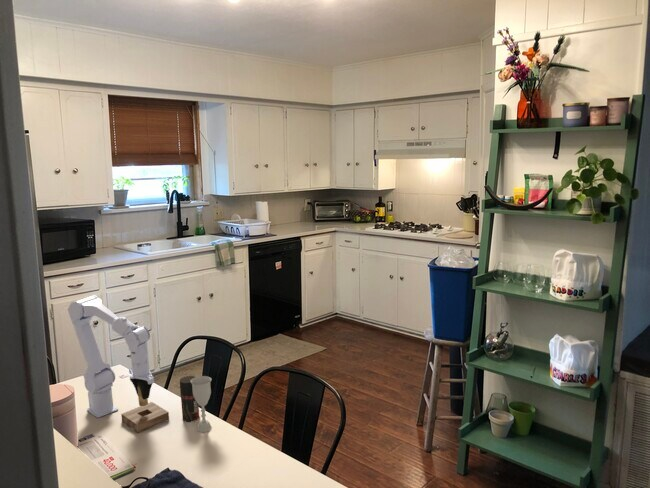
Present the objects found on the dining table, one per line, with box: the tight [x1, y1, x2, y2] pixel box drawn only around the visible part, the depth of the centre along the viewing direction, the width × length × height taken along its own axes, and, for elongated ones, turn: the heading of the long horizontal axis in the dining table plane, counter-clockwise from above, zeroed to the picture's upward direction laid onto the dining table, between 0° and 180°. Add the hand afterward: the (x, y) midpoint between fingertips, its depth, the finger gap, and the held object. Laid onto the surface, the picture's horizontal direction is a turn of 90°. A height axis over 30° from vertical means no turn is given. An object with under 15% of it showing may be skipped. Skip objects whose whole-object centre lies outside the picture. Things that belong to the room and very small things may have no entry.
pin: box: [137, 386, 149, 407], centre depth 189 cm, size 3×3×7 cm
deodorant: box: [179, 375, 200, 423], centre depth 190 cm, size 6×6×15 cm
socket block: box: [120, 401, 170, 434], centre depth 190 cm, size 12×12×3 cm
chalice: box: [190, 375, 213, 433], centre depth 183 cm, size 7×7×18 cm
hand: (143, 396), depth 189 cm, fingers closed on pin, 3 cm apart
